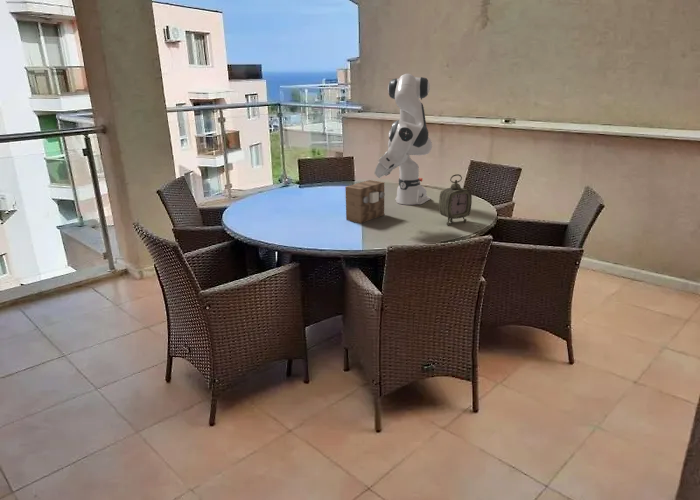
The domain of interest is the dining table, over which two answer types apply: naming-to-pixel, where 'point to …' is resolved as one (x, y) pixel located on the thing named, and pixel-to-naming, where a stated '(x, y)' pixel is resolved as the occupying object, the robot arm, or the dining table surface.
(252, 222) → the dining table surface
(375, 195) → the cream button
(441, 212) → the tabletop clock
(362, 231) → the dining table surface
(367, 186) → the wooden block with knobs
